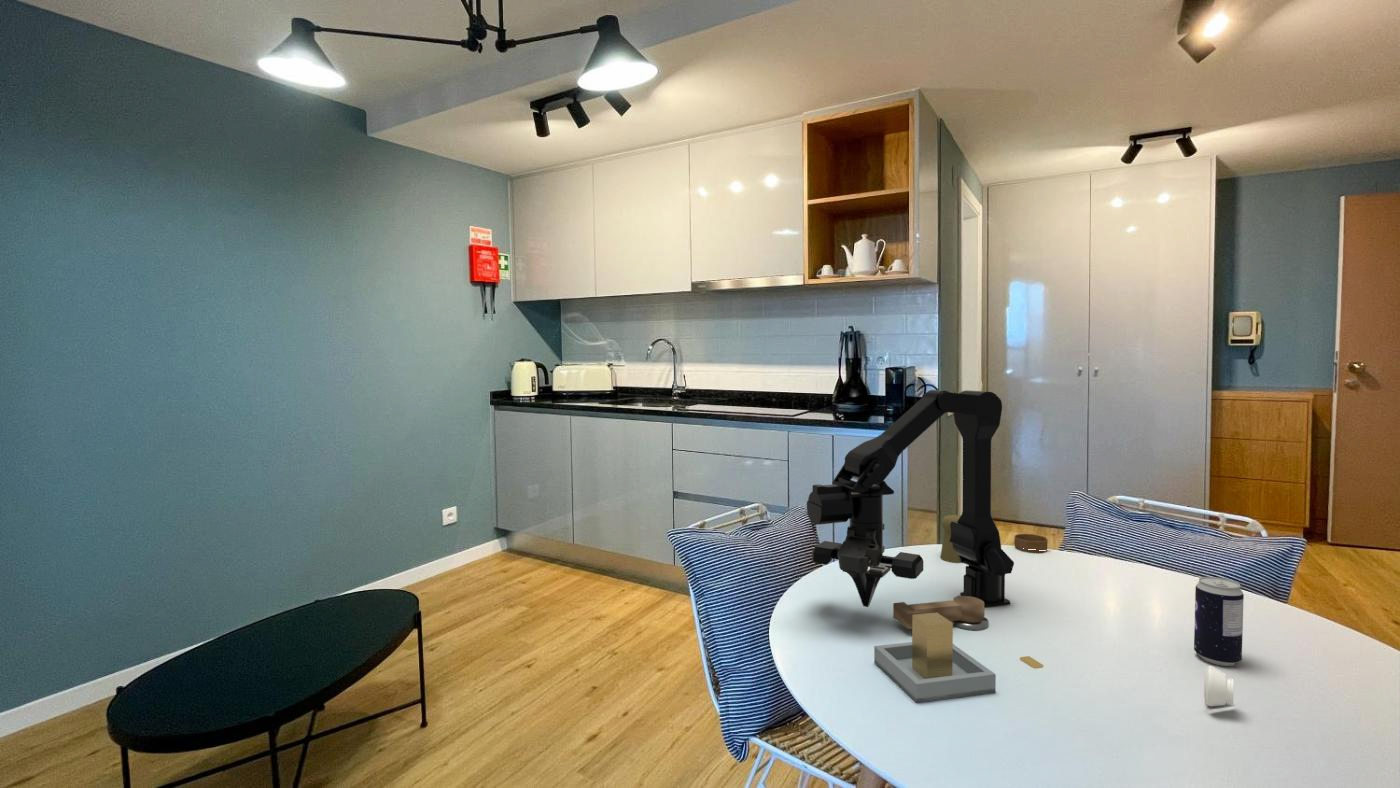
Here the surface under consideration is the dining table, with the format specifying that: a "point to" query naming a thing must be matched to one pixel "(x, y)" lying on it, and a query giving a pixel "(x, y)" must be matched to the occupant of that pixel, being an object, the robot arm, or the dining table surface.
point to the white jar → (1217, 687)
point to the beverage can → (1218, 621)
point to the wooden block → (932, 645)
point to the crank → (942, 610)
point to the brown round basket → (1030, 543)
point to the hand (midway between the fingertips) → (866, 606)
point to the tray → (962, 683)
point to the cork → (947, 547)
